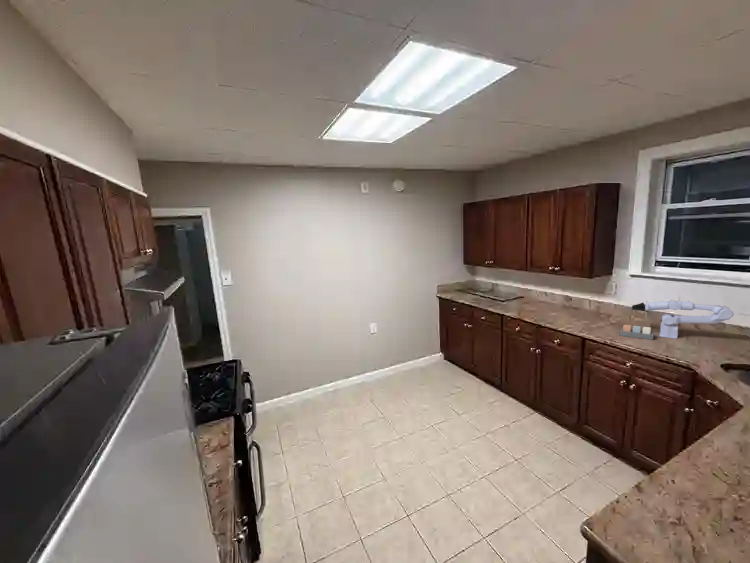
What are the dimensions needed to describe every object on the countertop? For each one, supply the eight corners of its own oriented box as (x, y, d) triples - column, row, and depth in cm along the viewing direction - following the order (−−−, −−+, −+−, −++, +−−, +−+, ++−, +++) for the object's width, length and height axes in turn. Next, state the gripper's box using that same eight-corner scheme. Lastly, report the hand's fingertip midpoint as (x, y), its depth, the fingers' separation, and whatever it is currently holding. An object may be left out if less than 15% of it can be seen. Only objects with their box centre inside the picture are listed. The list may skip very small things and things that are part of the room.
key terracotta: (631, 330, 239) (631, 325, 239) (630, 331, 236) (630, 326, 236) (623, 329, 242) (624, 324, 242) (623, 331, 239) (623, 326, 239)
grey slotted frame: (653, 336, 233) (654, 331, 232) (652, 340, 227) (653, 335, 226) (621, 332, 246) (621, 328, 245) (619, 335, 239) (619, 331, 239)
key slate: (640, 331, 236) (640, 326, 235) (640, 333, 233) (640, 328, 232) (633, 330, 239) (633, 325, 238) (632, 332, 236) (632, 327, 235)
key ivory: (650, 332, 232) (650, 327, 231) (650, 334, 229) (650, 329, 228) (643, 331, 235) (643, 326, 234) (642, 333, 232) (642, 328, 231)
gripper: (654, 299, 239) (631, 301, 247) (655, 301, 227) (631, 303, 236) (656, 309, 238) (632, 310, 247) (657, 311, 227) (632, 312, 236)
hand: (632, 307), depth 241 cm, fingers open, 7 cm apart
